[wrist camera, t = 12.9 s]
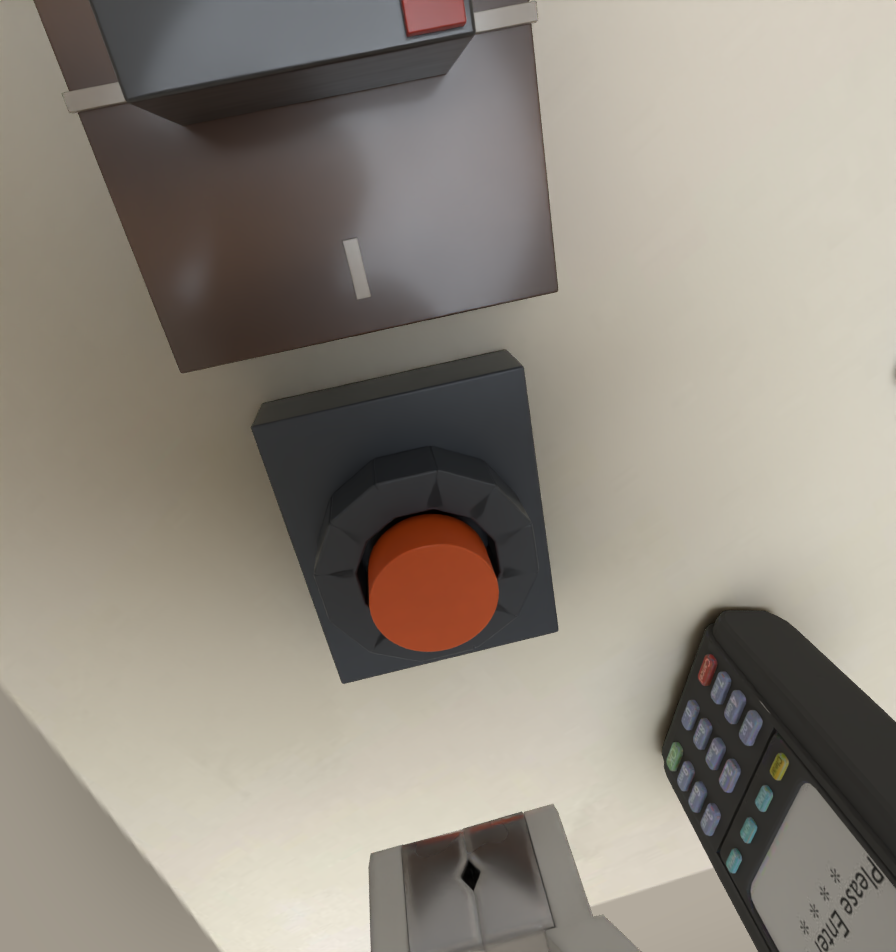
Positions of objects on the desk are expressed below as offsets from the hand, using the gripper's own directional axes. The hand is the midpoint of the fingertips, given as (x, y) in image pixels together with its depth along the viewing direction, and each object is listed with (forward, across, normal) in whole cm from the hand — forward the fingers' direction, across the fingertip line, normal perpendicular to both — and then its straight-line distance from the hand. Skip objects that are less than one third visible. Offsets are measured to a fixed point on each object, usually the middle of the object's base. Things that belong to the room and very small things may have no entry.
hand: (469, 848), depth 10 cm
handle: (+10, 0, -12) cm, 16 cm away
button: (+9, 0, +1) cm, 9 cm away
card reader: (+13, -11, +13) cm, 21 cm away
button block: (+13, 0, +1) cm, 13 cm away
